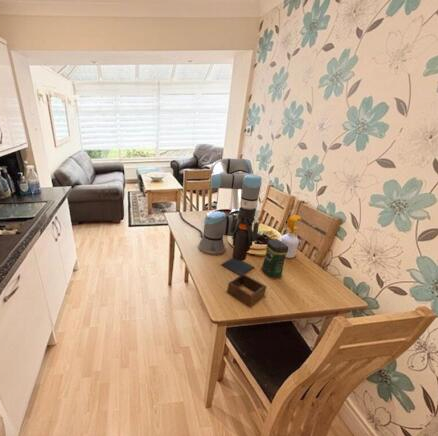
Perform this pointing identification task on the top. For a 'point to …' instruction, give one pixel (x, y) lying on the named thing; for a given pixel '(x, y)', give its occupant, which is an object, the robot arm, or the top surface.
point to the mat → (237, 266)
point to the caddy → (249, 283)
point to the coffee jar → (274, 258)
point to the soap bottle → (291, 237)
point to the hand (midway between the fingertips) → (240, 247)
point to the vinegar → (240, 243)
